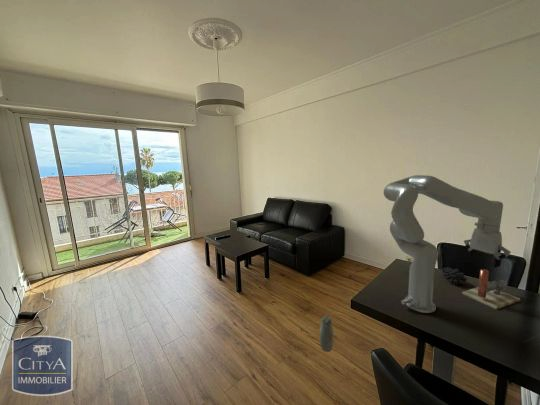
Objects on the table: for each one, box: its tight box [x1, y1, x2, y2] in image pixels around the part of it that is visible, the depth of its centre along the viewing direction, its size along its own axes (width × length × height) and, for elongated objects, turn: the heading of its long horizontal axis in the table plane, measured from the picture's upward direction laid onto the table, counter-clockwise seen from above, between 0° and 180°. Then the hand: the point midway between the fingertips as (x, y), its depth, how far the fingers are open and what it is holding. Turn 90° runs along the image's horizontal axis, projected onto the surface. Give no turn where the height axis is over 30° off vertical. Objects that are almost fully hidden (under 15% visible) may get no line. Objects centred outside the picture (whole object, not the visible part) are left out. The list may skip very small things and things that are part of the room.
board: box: [461, 286, 521, 310], centre depth 113 cm, size 18×14×5 cm
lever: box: [477, 268, 508, 298], centre depth 111 cm, size 19×4×14 cm, turn 110°
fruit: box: [441, 267, 468, 286], centre depth 129 cm, size 9×8×15 cm
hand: (483, 262), depth 107 cm, fingers open, 9 cm apart
